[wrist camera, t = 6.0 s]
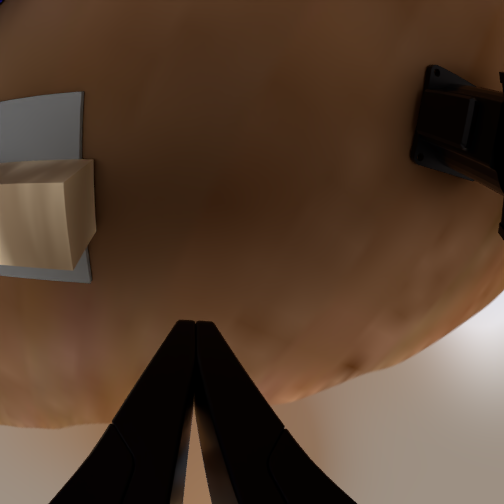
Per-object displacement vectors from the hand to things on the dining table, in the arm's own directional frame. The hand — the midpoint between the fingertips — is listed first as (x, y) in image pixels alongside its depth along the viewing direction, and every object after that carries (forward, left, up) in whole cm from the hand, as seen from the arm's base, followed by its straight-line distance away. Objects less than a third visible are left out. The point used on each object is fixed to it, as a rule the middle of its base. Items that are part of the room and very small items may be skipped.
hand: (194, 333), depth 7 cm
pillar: (+5, 0, -8) cm, 9 cm away
